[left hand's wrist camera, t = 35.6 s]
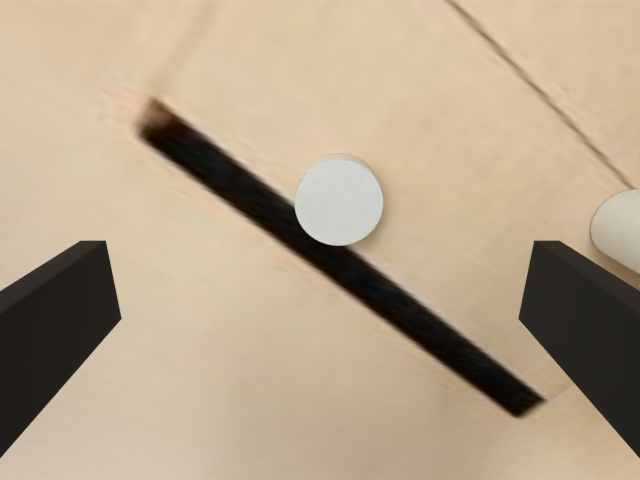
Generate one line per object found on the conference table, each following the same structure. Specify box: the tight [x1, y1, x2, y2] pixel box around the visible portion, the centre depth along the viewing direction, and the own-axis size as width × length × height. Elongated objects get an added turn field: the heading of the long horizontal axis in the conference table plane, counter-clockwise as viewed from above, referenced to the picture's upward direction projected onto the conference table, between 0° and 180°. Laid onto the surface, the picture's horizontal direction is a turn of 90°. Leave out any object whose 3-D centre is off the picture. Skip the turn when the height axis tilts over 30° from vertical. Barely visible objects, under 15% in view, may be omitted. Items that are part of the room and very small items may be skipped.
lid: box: [295, 154, 383, 246], centre depth 22 cm, size 5×5×2 cm
